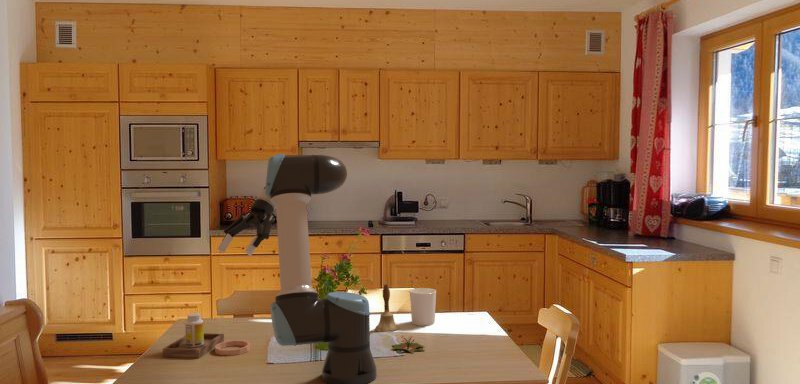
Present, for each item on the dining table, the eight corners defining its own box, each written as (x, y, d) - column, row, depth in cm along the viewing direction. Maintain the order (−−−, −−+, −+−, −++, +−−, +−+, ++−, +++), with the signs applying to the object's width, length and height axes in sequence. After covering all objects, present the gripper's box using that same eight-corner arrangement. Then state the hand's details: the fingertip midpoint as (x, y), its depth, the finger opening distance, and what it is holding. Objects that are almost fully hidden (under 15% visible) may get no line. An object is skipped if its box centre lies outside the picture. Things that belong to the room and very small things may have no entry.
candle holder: (405, 321, 232) (405, 289, 231) (428, 318, 236) (428, 286, 235) (417, 327, 223) (416, 294, 222) (441, 324, 227) (441, 291, 226)
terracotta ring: (242, 355, 193) (241, 350, 193) (209, 354, 195) (209, 349, 195) (255, 345, 204) (255, 340, 204) (224, 344, 206) (223, 339, 206)
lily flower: (431, 353, 194) (431, 339, 194) (394, 357, 192) (394, 342, 191) (420, 342, 206) (420, 329, 206) (385, 346, 203) (385, 332, 203)
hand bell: (397, 332, 218) (397, 286, 217) (374, 331, 219) (373, 286, 218) (399, 325, 226) (398, 282, 225) (376, 325, 227) (375, 282, 226)
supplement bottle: (205, 342, 204) (204, 312, 204) (201, 347, 199) (200, 316, 198) (188, 343, 204) (187, 312, 203) (183, 348, 198) (182, 316, 198)
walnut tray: (199, 358, 192) (198, 350, 192) (162, 356, 193) (162, 348, 193) (224, 341, 209) (223, 333, 209) (190, 340, 211) (190, 332, 211)
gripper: (296, 213, 217) (266, 261, 206) (246, 210, 231) (215, 256, 220) (285, 198, 213) (253, 247, 201) (235, 197, 227) (202, 243, 215)
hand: (233, 252), depth 210 cm, fingers open, 13 cm apart
